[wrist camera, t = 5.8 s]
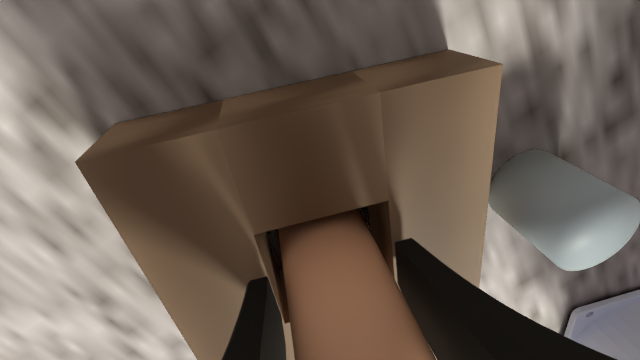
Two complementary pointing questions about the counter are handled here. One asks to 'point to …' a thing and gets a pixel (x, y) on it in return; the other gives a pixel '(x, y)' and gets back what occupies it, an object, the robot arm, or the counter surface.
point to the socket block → (300, 180)
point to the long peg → (345, 294)
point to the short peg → (563, 209)
